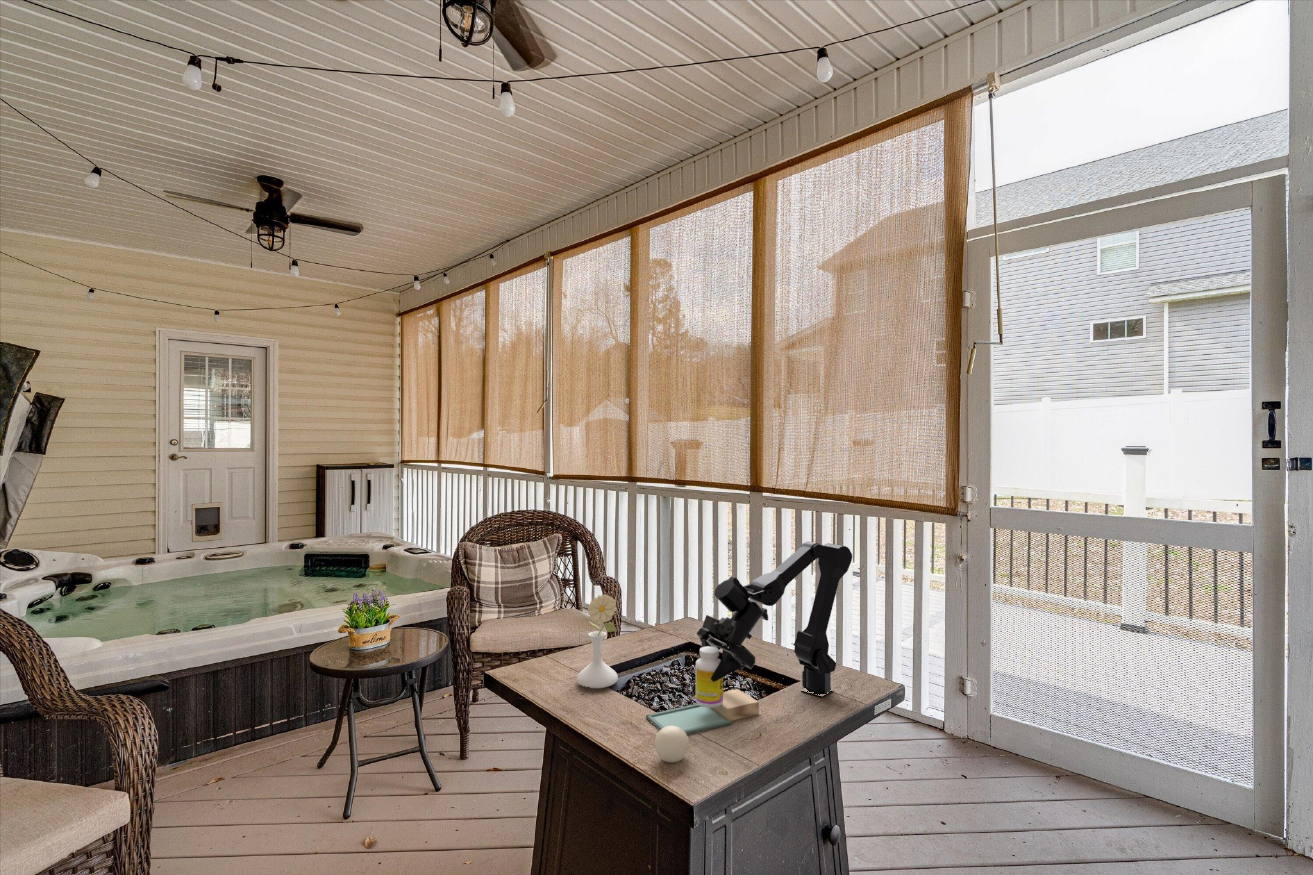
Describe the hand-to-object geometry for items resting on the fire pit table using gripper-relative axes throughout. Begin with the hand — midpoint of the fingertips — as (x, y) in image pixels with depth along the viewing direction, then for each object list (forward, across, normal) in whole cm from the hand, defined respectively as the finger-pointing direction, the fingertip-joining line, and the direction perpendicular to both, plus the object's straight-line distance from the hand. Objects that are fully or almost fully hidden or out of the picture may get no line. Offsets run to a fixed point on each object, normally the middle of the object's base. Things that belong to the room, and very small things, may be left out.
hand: (704, 676), depth 147 cm
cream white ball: (+19, +14, -5) cm, 24 cm away
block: (+1, 0, +12) cm, 13 cm away
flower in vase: (+18, -31, -4) cm, 36 cm away
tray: (+10, 0, +3) cm, 11 cm away
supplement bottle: (+4, 0, +6) cm, 7 cm away
